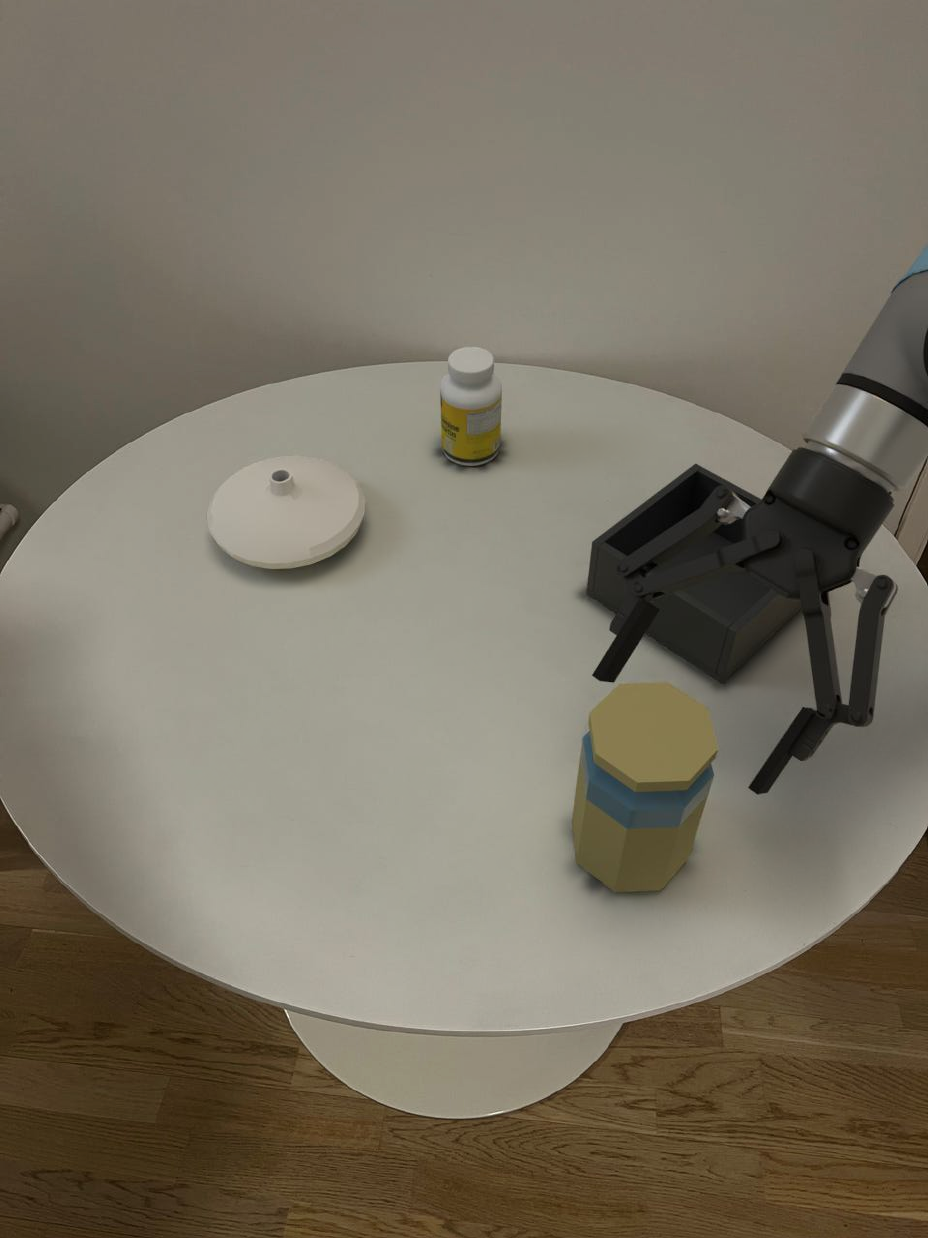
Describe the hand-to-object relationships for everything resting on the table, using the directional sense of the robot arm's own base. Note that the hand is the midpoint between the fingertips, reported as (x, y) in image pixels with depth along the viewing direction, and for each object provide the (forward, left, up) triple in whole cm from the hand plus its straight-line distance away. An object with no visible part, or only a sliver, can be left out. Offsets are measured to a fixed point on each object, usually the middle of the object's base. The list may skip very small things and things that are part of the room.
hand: (676, 732), depth 71 cm
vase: (+47, 0, -11) cm, 48 cm away
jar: (0, +4, -11) cm, 12 cm away
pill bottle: (+43, -22, -11) cm, 50 cm away
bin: (+12, -22, -11) cm, 28 cm away
